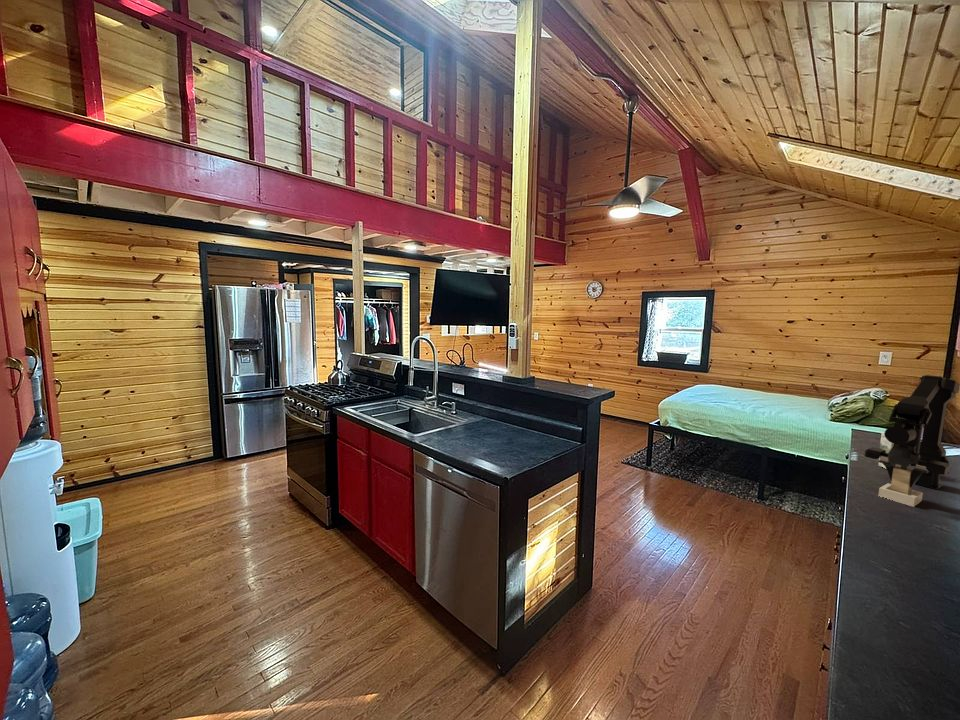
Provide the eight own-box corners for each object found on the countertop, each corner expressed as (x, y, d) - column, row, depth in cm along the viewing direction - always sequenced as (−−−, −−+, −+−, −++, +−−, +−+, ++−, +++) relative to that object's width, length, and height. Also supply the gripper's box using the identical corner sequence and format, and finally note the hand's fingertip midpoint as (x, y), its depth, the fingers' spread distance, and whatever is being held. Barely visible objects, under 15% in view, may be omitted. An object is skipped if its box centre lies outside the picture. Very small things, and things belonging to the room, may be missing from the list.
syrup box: (905, 472, 157) (910, 436, 155) (887, 470, 158) (892, 435, 156) (893, 466, 162) (898, 432, 161) (876, 465, 163) (880, 431, 162)
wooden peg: (894, 488, 136) (897, 463, 135) (911, 492, 132) (914, 467, 131) (890, 490, 134) (893, 465, 133) (907, 495, 130) (910, 469, 129)
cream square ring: (886, 491, 139) (888, 483, 139) (921, 501, 132) (922, 492, 131) (878, 496, 135) (879, 488, 135) (913, 506, 128) (914, 497, 127)
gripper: (861, 435, 135) (855, 479, 137) (943, 452, 119) (935, 501, 121) (873, 431, 141) (867, 473, 142) (953, 446, 125) (946, 493, 126)
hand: (901, 484), depth 133 cm, fingers closed on wooden peg, 4 cm apart
